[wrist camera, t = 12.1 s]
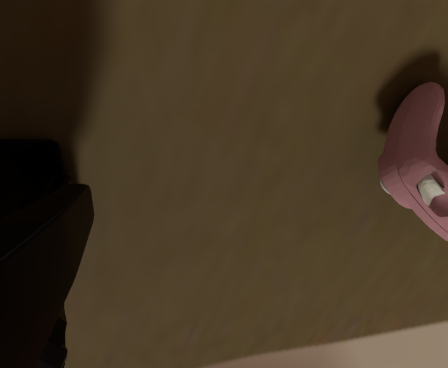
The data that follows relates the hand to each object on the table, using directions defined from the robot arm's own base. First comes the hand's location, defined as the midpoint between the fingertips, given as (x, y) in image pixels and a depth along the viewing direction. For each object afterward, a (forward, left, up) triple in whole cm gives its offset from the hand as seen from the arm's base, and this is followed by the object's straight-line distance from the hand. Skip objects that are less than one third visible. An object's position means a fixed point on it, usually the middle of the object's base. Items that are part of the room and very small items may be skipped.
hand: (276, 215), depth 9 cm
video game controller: (+13, -5, -13) cm, 19 cm away
